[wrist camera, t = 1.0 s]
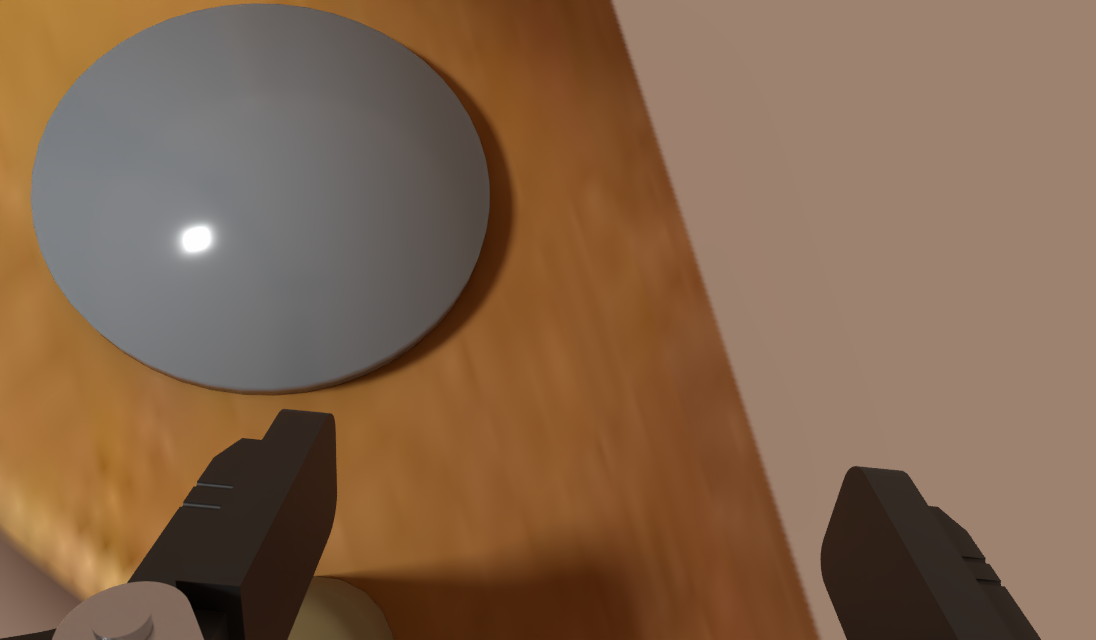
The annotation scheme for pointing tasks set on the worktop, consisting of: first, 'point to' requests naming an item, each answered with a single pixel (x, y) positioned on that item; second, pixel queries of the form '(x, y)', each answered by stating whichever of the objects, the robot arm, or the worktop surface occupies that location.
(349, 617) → the cork
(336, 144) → the slate plate
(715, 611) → the worktop surface
